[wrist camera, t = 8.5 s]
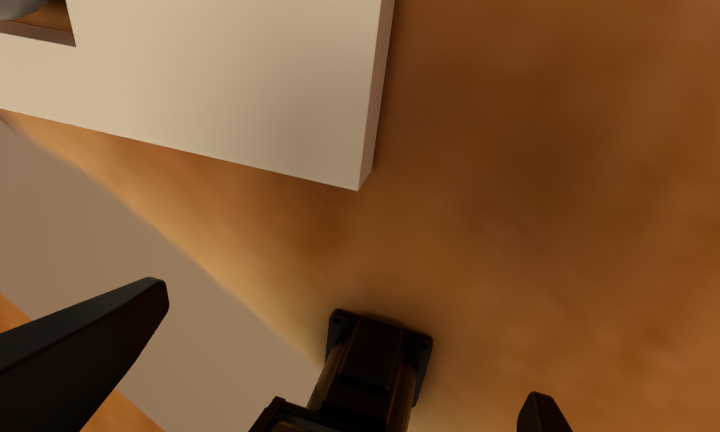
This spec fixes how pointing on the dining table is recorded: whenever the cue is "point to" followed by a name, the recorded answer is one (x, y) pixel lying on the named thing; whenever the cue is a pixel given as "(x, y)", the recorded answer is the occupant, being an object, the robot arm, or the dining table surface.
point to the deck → (214, 78)
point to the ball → (19, 8)
